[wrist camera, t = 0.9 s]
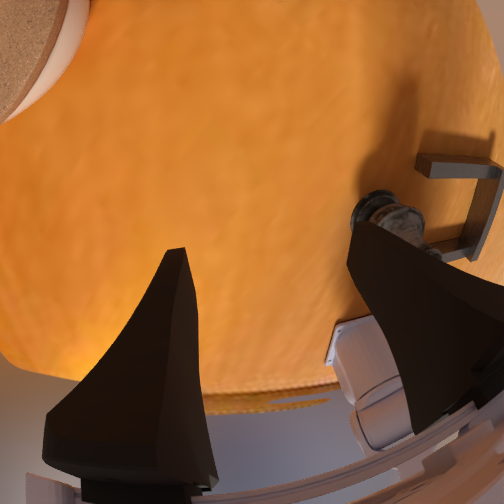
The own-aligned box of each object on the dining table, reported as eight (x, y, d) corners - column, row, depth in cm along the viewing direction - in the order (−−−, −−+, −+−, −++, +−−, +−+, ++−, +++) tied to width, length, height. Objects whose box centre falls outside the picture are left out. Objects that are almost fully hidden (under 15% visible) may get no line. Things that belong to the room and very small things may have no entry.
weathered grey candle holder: (396, 175, 21) (498, 263, 12) (405, 225, 25) (482, 313, 15) (339, 206, 22) (427, 317, 13) (355, 254, 26) (423, 356, 16)
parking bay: (462, 245, 29) (476, 259, 27) (391, 262, 28) (406, 281, 25) (489, 158, 22) (508, 170, 19) (417, 153, 20) (440, 166, 18)
